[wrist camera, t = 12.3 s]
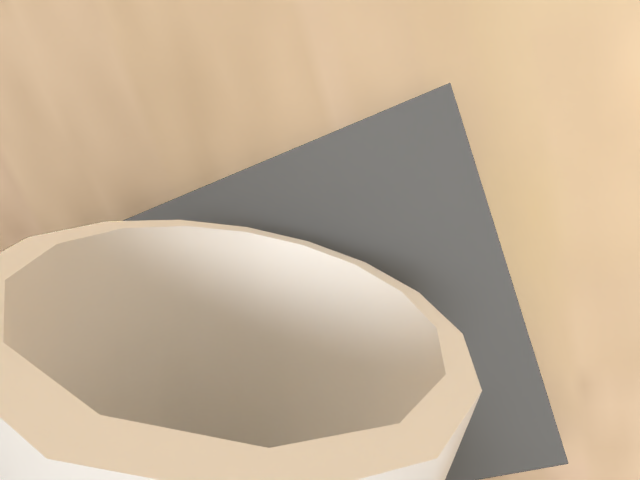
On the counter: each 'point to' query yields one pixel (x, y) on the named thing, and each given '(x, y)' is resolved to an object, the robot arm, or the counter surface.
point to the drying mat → (409, 253)
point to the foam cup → (220, 360)
